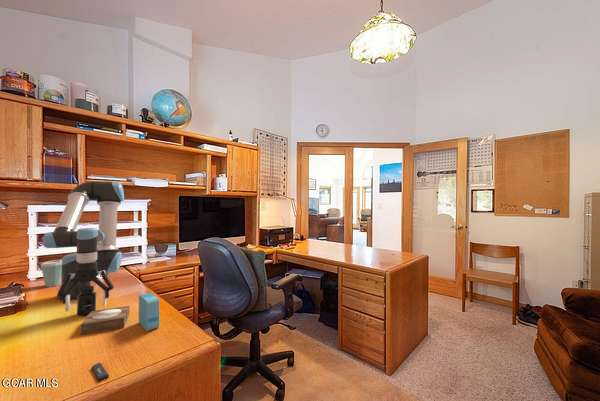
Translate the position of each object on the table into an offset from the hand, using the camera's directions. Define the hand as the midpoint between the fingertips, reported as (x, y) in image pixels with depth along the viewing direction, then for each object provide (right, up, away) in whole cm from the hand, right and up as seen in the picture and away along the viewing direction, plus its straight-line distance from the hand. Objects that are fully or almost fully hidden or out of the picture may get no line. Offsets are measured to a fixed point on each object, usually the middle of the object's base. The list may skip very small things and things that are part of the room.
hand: (86, 307), depth 121 cm
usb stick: (+39, -3, -43) cm, 58 cm away
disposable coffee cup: (-55, -3, +41) cm, 69 cm away
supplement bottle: (0, -3, 0) cm, 3 cm away
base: (+17, -3, -10) cm, 20 cm away
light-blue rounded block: (+35, -3, -12) cm, 37 cm away
